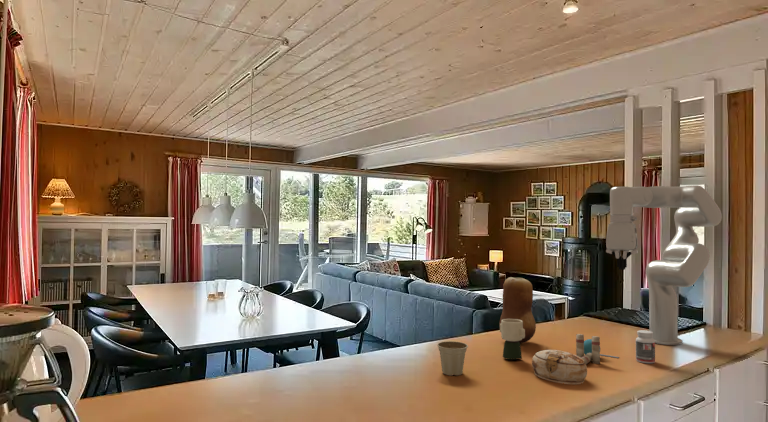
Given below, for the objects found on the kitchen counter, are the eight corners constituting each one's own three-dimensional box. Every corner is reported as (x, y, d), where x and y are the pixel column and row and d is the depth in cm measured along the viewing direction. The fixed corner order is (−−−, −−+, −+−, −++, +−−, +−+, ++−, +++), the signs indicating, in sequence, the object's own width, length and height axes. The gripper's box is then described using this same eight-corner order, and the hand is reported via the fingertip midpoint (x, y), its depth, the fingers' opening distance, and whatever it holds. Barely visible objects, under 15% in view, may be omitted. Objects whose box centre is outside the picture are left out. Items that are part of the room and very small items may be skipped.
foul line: (577, 351, 176) (577, 350, 176) (619, 357, 168) (619, 357, 168) (576, 351, 175) (576, 351, 175) (618, 358, 167) (618, 357, 167)
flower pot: (470, 370, 153) (470, 342, 153) (465, 379, 144) (465, 349, 145) (440, 367, 156) (440, 340, 156) (434, 375, 147) (434, 347, 148)
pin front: (586, 352, 165) (578, 357, 159) (593, 353, 164) (586, 358, 157) (586, 359, 165) (578, 365, 159) (594, 360, 164) (586, 366, 157)
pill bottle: (657, 364, 160) (657, 333, 160) (638, 363, 161) (638, 333, 161) (651, 359, 165) (651, 330, 165) (633, 358, 166) (633, 329, 167)
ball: (577, 348, 168) (583, 360, 170) (594, 349, 164) (601, 361, 166) (580, 335, 171) (587, 347, 174) (597, 335, 167) (604, 347, 170)
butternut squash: (543, 343, 187) (543, 278, 187) (520, 348, 179) (519, 280, 180) (514, 336, 198) (514, 275, 199) (491, 341, 191) (491, 277, 191)
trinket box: (529, 370, 154) (529, 345, 154) (579, 372, 152) (579, 346, 152) (536, 384, 140) (536, 356, 141) (591, 386, 138) (591, 358, 139)
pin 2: (593, 361, 163) (592, 335, 163) (601, 362, 161) (600, 336, 162) (590, 363, 161) (590, 337, 161) (598, 364, 160) (598, 338, 160)
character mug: (532, 361, 163) (531, 322, 163) (517, 364, 159) (517, 324, 160) (507, 353, 172) (507, 316, 173) (493, 356, 168) (492, 319, 169)
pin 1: (577, 358, 166) (577, 333, 166) (585, 359, 165) (584, 334, 165) (575, 360, 164) (574, 334, 164) (582, 361, 163) (582, 336, 163)
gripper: (645, 219, 180) (646, 269, 179) (602, 220, 189) (603, 267, 188) (641, 219, 174) (642, 271, 173) (597, 219, 183) (597, 269, 183)
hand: (621, 269), depth 181 cm, fingers closed
